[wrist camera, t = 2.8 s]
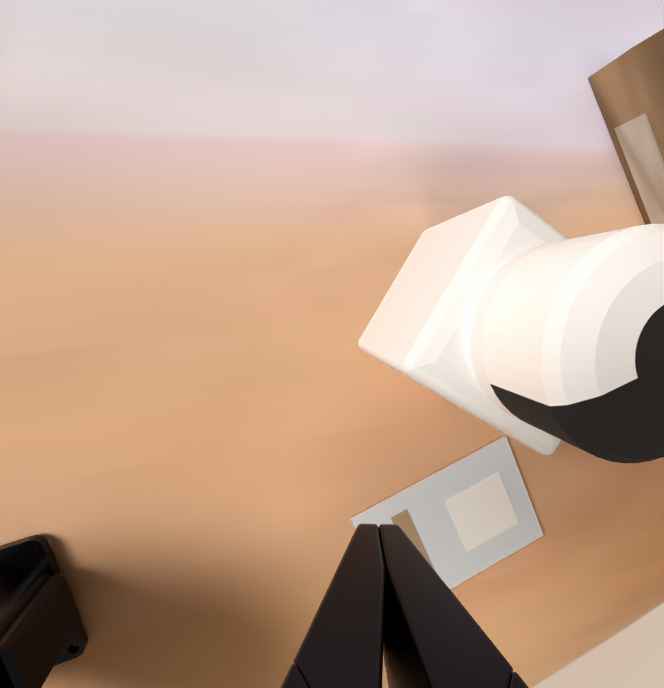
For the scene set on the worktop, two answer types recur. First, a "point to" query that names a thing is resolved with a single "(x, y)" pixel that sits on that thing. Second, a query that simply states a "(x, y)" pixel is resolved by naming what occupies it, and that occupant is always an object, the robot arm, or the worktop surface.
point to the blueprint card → (464, 513)
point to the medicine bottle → (534, 329)
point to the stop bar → (637, 119)
